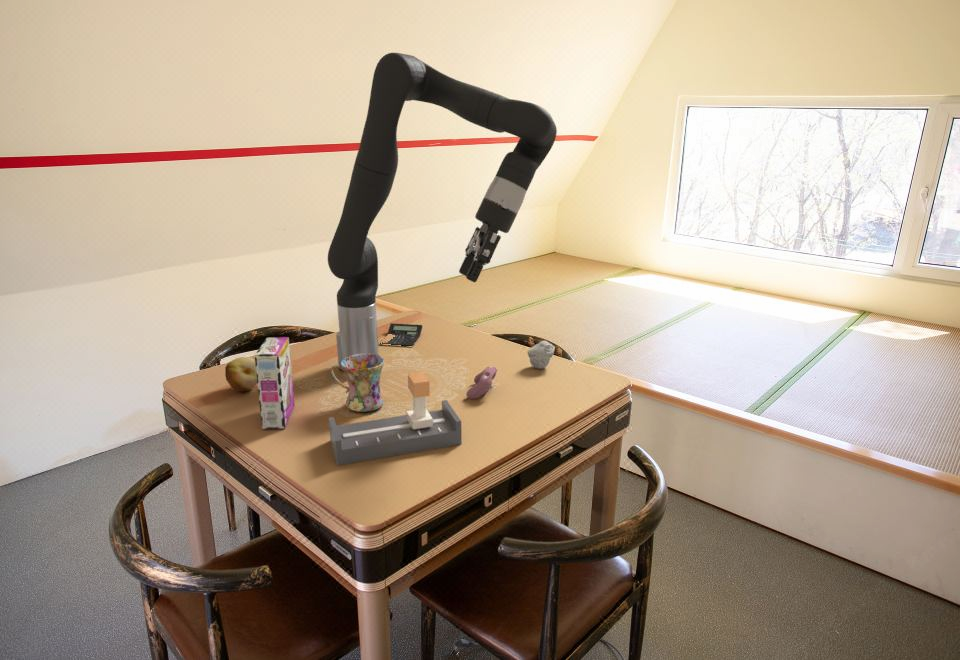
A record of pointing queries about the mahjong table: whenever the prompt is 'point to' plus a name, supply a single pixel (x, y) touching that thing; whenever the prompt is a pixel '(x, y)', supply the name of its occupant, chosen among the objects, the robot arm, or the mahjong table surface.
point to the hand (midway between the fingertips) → (466, 277)
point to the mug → (362, 381)
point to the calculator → (404, 334)
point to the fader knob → (419, 401)
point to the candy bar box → (274, 382)
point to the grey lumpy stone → (541, 354)
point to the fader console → (393, 436)
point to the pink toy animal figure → (482, 383)
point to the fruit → (241, 373)
